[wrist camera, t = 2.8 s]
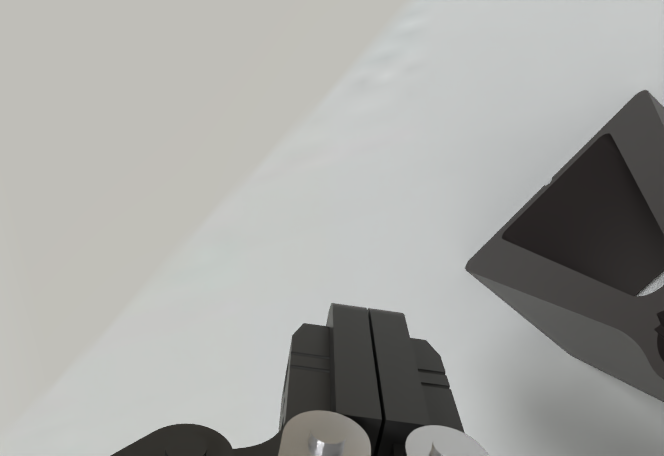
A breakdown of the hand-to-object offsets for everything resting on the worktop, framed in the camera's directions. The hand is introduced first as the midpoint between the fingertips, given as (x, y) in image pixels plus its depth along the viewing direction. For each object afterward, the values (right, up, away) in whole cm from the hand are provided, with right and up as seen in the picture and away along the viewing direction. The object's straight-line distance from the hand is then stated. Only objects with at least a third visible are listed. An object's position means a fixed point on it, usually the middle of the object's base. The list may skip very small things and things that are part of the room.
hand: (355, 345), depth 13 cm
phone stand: (+10, +2, +11) cm, 15 cm away
